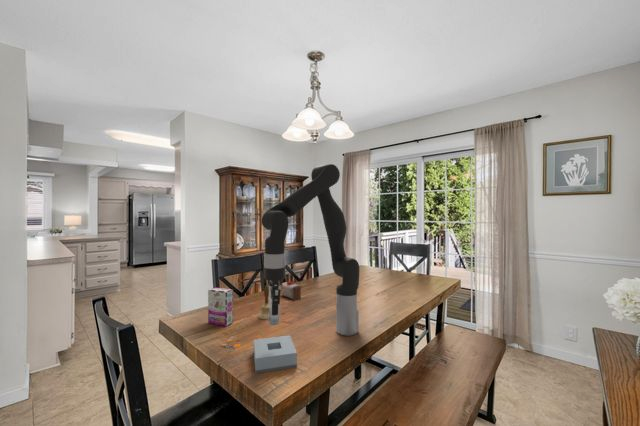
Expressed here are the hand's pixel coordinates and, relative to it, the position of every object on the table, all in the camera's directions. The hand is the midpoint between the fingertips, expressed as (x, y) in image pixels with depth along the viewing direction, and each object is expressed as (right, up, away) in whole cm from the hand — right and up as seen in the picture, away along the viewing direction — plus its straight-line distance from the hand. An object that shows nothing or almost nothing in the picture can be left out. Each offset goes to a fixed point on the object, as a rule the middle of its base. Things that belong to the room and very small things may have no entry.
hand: (274, 312), depth 101 cm
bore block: (0, -17, 0) cm, 17 cm away
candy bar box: (-31, -17, +33) cm, 48 cm away
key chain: (-20, -18, +12) cm, 29 cm away
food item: (-2, -17, +74) cm, 76 cm away
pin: (0, -4, 0) cm, 4 cm away
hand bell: (-11, -17, +42) cm, 46 cm away
